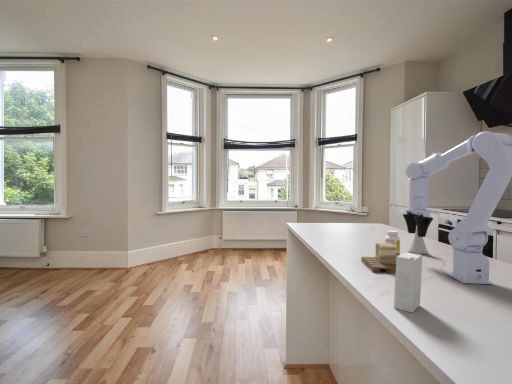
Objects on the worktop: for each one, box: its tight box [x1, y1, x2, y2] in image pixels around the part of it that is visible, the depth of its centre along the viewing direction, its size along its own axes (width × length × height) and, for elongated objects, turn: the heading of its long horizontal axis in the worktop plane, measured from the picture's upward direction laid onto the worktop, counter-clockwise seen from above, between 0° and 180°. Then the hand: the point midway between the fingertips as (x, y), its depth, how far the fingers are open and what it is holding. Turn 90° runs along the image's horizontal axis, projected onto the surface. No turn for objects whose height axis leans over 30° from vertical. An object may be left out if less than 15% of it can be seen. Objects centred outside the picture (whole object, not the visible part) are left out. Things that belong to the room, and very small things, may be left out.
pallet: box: [360, 256, 397, 274], centre depth 106 cm, size 14×12×2 cm
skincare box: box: [393, 252, 423, 313], centre depth 71 cm, size 6×4×12 cm
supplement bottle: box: [384, 230, 401, 258], centre depth 123 cm, size 5×5×10 cm
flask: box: [407, 227, 429, 255], centre depth 129 cm, size 7×7×10 cm
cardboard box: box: [374, 242, 397, 264], centre depth 105 cm, size 5×5×6 cm
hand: (416, 234), depth 110 cm, fingers open, 7 cm apart
